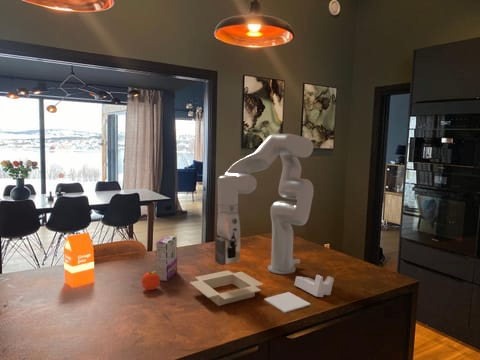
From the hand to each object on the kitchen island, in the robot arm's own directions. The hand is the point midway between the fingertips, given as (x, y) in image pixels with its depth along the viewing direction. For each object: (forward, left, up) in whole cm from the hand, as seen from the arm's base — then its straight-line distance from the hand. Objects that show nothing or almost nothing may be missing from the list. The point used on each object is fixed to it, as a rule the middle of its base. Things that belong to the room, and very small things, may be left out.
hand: (227, 254), depth 142 cm
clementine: (+23, -18, -15) cm, 33 cm away
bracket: (-31, +15, -16) cm, 38 cm away
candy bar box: (+13, -28, -15) cm, 35 cm away
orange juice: (+46, -39, -15) cm, 62 cm away
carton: (0, 0, -15) cm, 15 cm away
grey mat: (-15, +18, -15) cm, 28 cm away
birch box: (0, 0, -3) cm, 3 cm away
